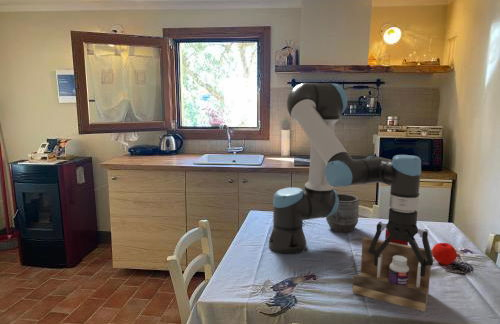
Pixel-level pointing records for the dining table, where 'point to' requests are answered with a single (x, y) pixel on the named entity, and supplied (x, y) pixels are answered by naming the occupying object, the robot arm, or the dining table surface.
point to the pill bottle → (399, 271)
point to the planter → (345, 214)
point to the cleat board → (380, 287)
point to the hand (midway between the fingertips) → (398, 280)
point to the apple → (444, 253)
